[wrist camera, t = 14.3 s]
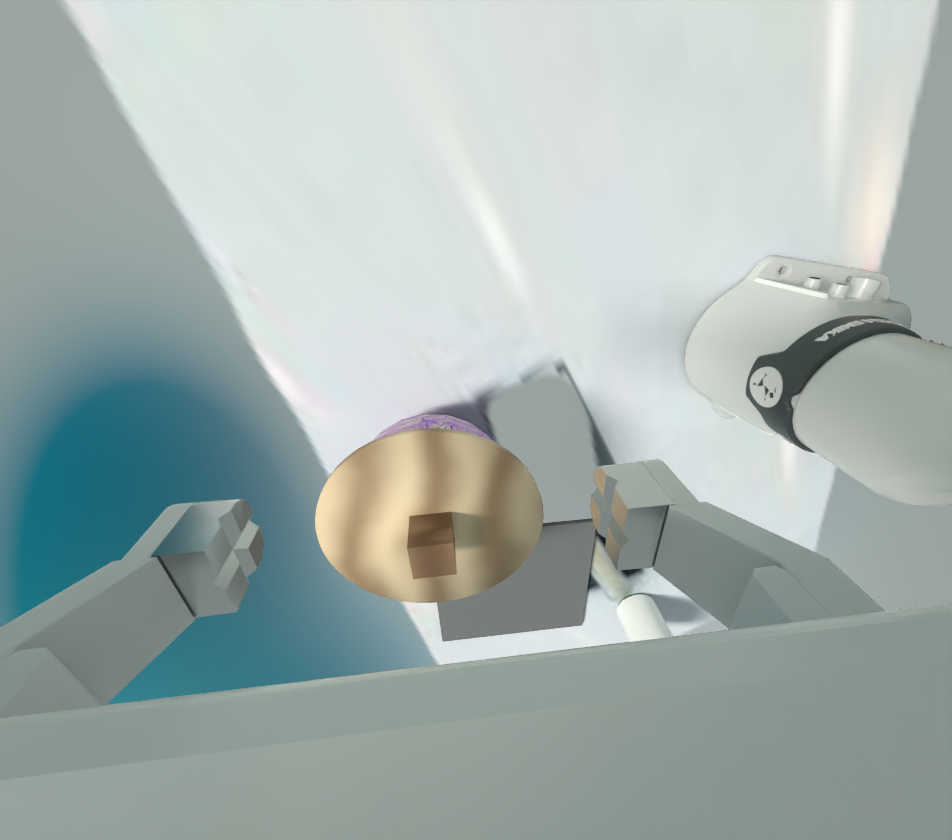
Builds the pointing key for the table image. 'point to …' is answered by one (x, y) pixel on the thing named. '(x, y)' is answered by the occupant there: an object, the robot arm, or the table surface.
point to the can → (642, 618)
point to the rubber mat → (530, 589)
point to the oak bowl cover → (429, 515)
